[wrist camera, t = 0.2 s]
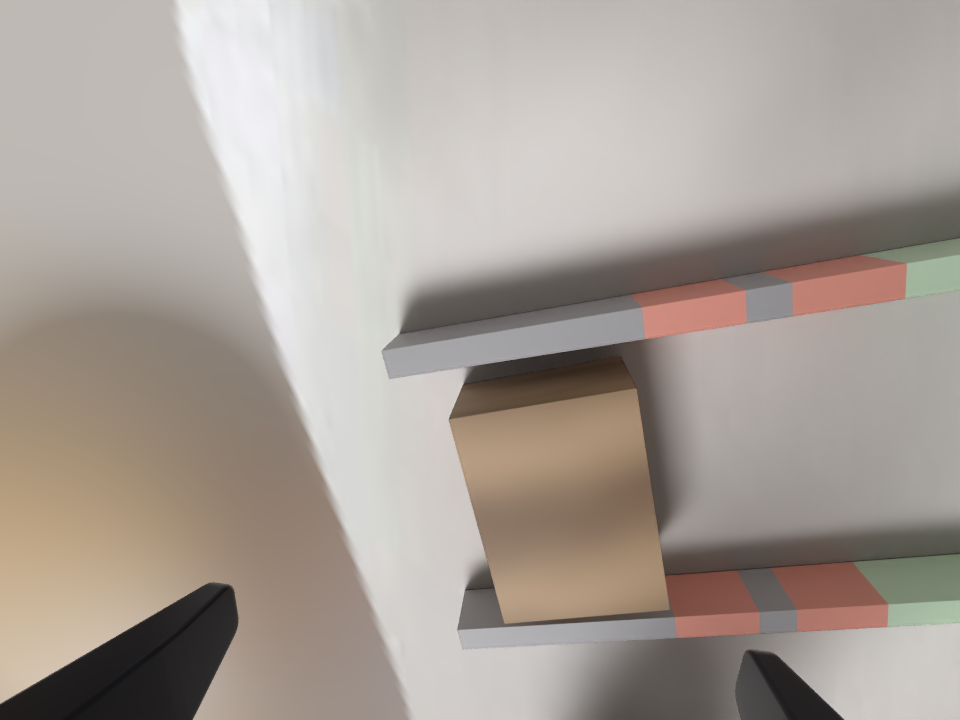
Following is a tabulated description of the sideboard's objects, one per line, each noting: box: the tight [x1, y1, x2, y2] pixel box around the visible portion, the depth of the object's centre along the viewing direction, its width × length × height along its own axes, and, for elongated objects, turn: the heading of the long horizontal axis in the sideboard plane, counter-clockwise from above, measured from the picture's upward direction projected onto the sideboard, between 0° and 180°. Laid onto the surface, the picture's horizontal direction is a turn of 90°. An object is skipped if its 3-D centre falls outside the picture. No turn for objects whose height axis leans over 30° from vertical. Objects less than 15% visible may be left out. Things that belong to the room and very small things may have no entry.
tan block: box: [449, 356, 670, 624], centre depth 21 cm, size 10×7×4 cm
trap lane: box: [382, 238, 960, 649], centre depth 20 cm, size 15×29×3 cm, turn 101°
